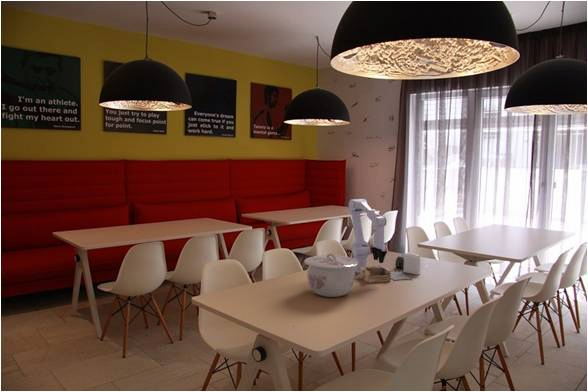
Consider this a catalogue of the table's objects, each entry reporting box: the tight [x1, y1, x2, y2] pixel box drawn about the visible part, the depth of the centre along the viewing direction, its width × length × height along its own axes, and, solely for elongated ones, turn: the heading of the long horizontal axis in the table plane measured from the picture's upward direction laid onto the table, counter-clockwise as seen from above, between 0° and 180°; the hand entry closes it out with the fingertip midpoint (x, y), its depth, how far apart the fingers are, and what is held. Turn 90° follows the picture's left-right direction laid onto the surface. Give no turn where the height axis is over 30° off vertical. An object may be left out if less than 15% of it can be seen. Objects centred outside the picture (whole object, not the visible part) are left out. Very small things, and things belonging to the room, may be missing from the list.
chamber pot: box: [303, 252, 358, 298], centre depth 234 cm, size 28×28×21 cm
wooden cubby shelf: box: [358, 265, 392, 284], centre depth 262 cm, size 13×13×6 cm
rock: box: [394, 252, 406, 270], centre depth 291 cm, size 18×11×8 cm, turn 149°
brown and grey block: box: [366, 265, 384, 276], centre depth 262 cm, size 4×9×7 cm, turn 108°
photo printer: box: [403, 252, 421, 276], centre depth 276 cm, size 10×4×12 cm, turn 39°
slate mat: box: [390, 271, 412, 281], centre depth 268 cm, size 14×11×1 cm
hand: (378, 261), depth 261 cm, fingers open, 7 cm apart
